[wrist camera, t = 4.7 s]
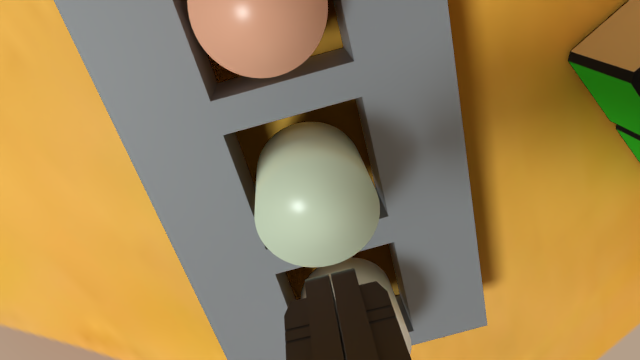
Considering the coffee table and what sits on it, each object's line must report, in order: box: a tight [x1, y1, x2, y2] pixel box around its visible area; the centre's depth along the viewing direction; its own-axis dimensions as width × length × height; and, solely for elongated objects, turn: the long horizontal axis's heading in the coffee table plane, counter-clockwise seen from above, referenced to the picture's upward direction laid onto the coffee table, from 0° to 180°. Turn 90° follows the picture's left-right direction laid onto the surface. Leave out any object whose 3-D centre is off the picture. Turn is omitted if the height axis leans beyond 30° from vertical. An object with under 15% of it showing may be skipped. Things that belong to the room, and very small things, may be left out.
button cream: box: [301, 258, 411, 354], centre depth 23 cm, size 5×5×4 cm
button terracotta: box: [187, 0, 328, 78], centre depth 18 cm, size 5×5×4 cm
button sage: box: [254, 122, 380, 267], centre depth 20 cm, size 5×5×4 cm
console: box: [54, 0, 487, 360], centre depth 22 cm, size 14×23×3 cm, turn 14°
